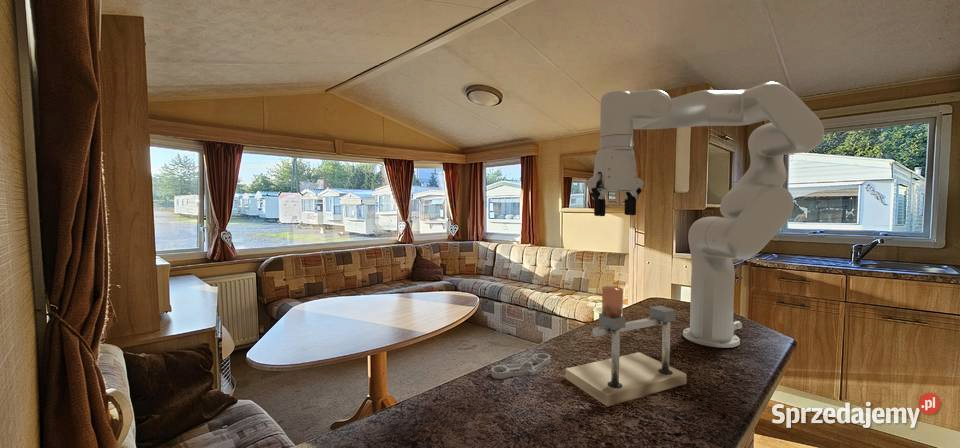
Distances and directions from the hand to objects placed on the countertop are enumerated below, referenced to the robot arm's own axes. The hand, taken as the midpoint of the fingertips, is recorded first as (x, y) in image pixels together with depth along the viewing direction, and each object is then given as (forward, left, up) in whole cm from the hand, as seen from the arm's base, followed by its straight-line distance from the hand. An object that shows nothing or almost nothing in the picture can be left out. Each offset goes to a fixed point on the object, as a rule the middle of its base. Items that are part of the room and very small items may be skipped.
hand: (615, 215), depth 95 cm
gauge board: (+12, +16, -32) cm, 38 cm away
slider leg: (+18, +19, -30) cm, 40 cm away
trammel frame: (+12, +19, -30) cm, 38 cm away
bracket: (+28, +2, -33) cm, 43 cm away
